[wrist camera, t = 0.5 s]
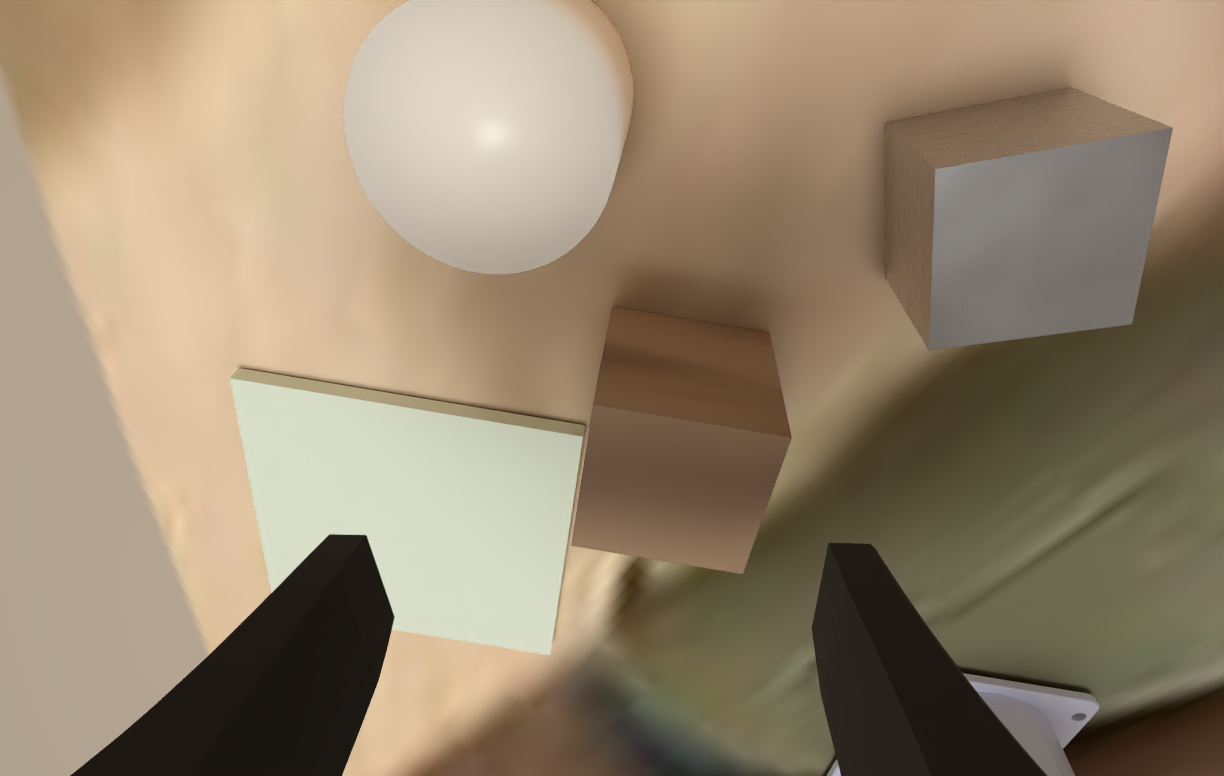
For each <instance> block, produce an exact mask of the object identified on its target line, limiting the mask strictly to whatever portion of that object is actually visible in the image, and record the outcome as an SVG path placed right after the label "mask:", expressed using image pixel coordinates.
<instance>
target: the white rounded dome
mask: <svg viewBox="0 0 1224 776" xmlns="http://www.w3.org/2000/svg"><path fill="white" fill-rule="evenodd" d="M633 101H634V86H633V77H632V70H631V65H630V62H629V58H628V55H627V52H626V49H625V47H624V45H623V42H622V40H621V38H620V36H619V34H618V33H617V31H616V29H615V27H614V26H613V24H612V23H611V21H610V20H609V19H608V17H607V16H606V15H605V13H604V12H603V11H602V10H601V9H600V8H599V7H598V6H597V5H596V4H595V3H594V2H593V1H592V0H409V1H407V2H406V3H404V4H402V5H401V6H399V7H397V8H396V9H394V10H393V11H391V12H390V13H389V14H388V15H387V16H386V17H384V18H383V19H382V20H381V21H380V22H379V23H378V24H377V25H376V26H375V27H374V29H373V30H372V31H371V32H370V33H369V34H368V36H367V37H366V39H365V40H364V42H363V44H362V45H361V47H360V49H359V50H358V52H357V54H356V57H355V59H354V61H353V64H352V66H351V68H350V72H349V76H348V80H347V83H346V88H345V96H344V104H343V124H344V131H345V139H346V145H347V149H348V152H349V156H350V160H351V163H352V166H353V168H354V171H355V174H356V176H357V179H358V180H359V182H360V184H361V186H362V188H363V190H364V192H365V194H366V196H367V197H368V199H369V200H370V202H371V203H372V205H373V206H374V208H375V209H376V211H377V212H378V213H379V214H380V215H381V217H382V218H383V219H384V220H385V222H386V223H387V224H388V225H389V226H390V227H391V228H392V229H393V230H394V231H395V232H396V233H397V234H398V235H399V236H400V237H402V238H403V239H404V240H406V241H407V242H408V243H409V244H411V245H412V246H413V247H415V248H416V249H418V250H419V251H421V252H422V253H424V254H426V255H427V256H429V257H431V258H433V259H435V260H437V261H439V262H441V263H443V264H446V265H449V266H452V267H455V268H457V269H461V270H465V271H470V272H474V273H481V274H491V275H496V274H513V273H520V272H525V271H529V270H532V269H536V268H539V267H541V266H544V265H546V264H548V263H551V262H553V261H555V260H556V259H558V258H560V257H561V256H563V255H565V254H566V253H567V252H569V251H570V250H571V249H572V248H574V247H575V246H576V245H577V244H579V243H580V241H581V240H582V239H583V238H584V237H585V236H586V235H587V234H588V233H589V232H590V230H591V229H592V228H593V226H594V225H595V223H596V222H597V220H598V219H599V217H600V215H601V213H602V212H603V210H604V208H605V206H606V204H607V201H608V198H609V196H610V193H611V190H612V187H613V183H614V180H615V176H616V173H617V169H618V165H619V162H620V158H621V155H622V151H623V147H624V144H625V140H626V136H627V133H628V129H629V126H630V121H631V116H632V112H633Z"/></svg>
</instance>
